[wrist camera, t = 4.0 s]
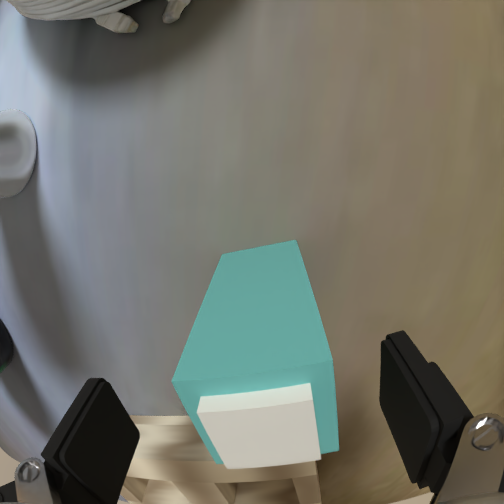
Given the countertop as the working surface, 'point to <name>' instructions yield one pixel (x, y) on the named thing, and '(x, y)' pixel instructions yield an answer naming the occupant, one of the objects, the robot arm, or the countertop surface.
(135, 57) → the countertop surface
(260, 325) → the plug
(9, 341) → the supplement bottle
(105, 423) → the robot arm
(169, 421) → the socket block
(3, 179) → the beer glass
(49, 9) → the cable
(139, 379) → the countertop surface
